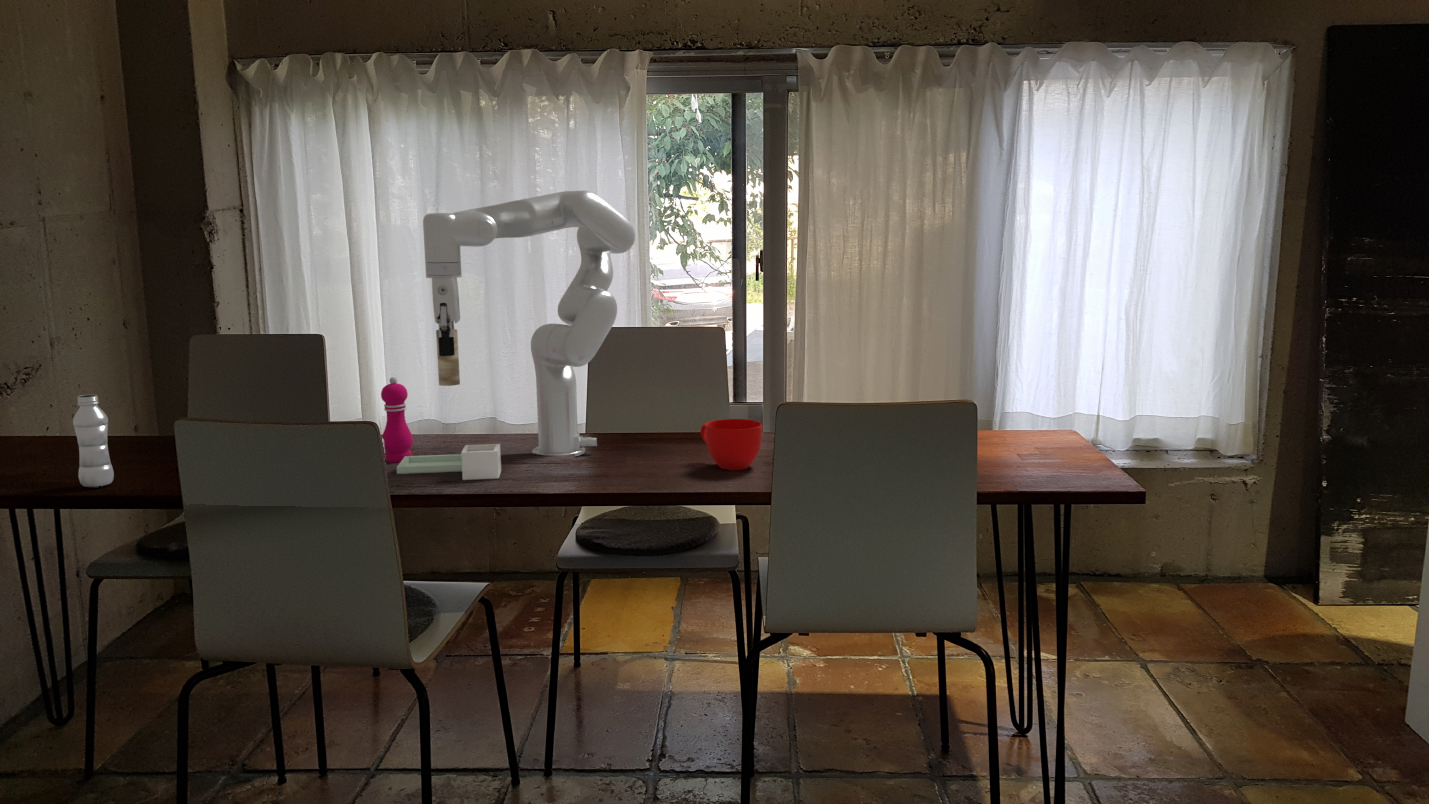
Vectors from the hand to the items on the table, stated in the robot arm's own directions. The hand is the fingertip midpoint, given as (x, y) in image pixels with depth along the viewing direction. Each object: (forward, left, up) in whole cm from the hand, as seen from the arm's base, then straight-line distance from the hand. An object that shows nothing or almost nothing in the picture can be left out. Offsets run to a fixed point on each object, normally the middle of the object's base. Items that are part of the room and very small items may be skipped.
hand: (447, 353), depth 231 cm
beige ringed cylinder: (0, 0, -7) cm, 7 cm away
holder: (-7, +6, -27) cm, 29 cm away
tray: (+4, -4, -27) cm, 28 cm away
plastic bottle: (+76, -1, -28) cm, 81 cm away
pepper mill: (+15, -17, -28) cm, 36 cm away
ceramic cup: (-62, +2, -28) cm, 68 cm away
